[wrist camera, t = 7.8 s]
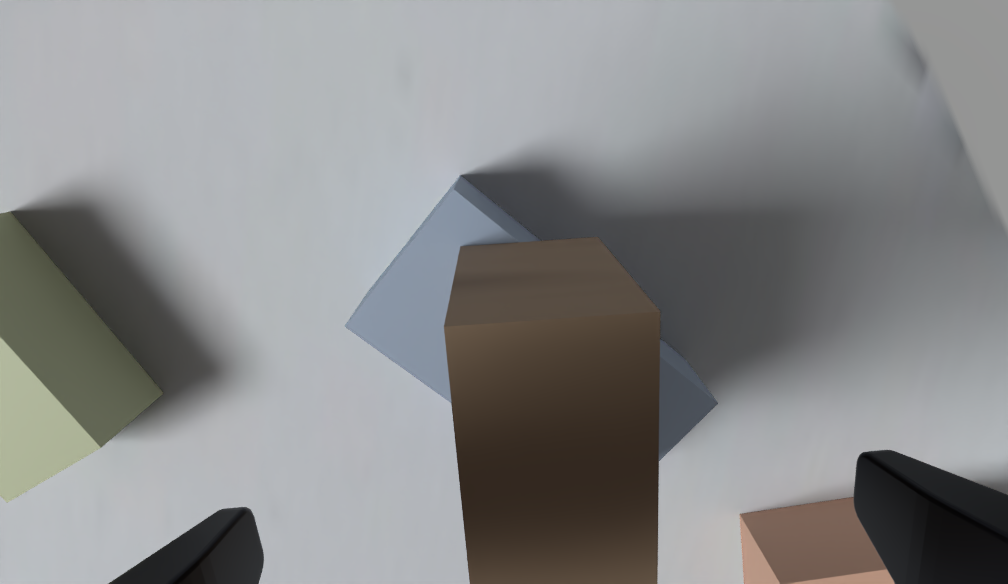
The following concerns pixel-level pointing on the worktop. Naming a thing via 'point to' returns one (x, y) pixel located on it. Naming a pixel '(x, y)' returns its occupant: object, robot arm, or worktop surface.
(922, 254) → the worktop surface
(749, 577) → the terracotta brick
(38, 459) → the olive brick
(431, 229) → the slate brick
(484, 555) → the walnut brick
